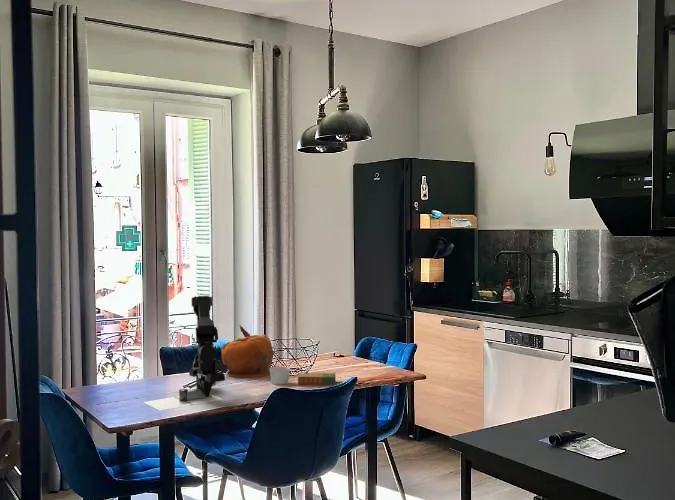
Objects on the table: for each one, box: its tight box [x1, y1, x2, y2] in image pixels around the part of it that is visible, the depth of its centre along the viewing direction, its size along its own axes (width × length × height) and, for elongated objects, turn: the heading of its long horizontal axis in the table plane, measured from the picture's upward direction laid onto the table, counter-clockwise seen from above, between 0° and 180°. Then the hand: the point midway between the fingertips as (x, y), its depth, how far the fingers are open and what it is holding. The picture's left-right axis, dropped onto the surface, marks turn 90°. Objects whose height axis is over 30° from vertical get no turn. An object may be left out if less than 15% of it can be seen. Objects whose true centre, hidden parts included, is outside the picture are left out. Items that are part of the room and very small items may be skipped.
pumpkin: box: [220, 324, 275, 379], centre depth 316 cm, size 22×25×22 cm
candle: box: [269, 366, 291, 385], centre depth 295 cm, size 9×9×6 cm
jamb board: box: [142, 394, 224, 411], centre depth 261 cm, size 16×26×1 cm, turn 128°
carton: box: [297, 372, 337, 387], centre depth 293 cm, size 8×16×4 cm, turn 90°
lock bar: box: [178, 388, 213, 401], centre depth 263 cm, size 13×3×4 cm, turn 121°
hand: (207, 396), depth 263 cm, fingers closed
